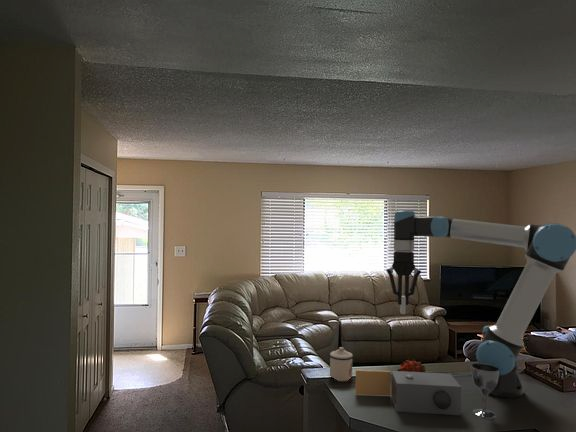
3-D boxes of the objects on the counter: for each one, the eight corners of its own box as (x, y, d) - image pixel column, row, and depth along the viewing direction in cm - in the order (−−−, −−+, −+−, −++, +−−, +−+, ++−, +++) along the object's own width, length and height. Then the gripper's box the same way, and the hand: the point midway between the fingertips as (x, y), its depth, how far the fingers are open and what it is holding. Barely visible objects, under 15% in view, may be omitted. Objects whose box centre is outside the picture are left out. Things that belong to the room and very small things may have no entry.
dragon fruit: (428, 385, 168) (398, 390, 167) (419, 366, 175) (391, 371, 174) (432, 371, 163) (401, 377, 162) (422, 353, 170) (393, 358, 169)
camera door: (389, 393, 153) (389, 370, 154) (390, 395, 152) (390, 371, 152) (355, 392, 154) (355, 369, 154) (355, 394, 153) (356, 370, 153)
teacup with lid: (354, 382, 165) (355, 351, 166) (330, 381, 165) (331, 350, 165) (349, 371, 177) (350, 342, 178) (327, 370, 177) (327, 342, 177)
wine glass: (496, 411, 142) (497, 364, 142) (499, 421, 134) (500, 372, 135) (470, 407, 145) (470, 361, 145) (472, 417, 137) (472, 369, 137)
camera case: (450, 399, 150) (450, 372, 150) (462, 417, 137) (462, 386, 137) (390, 396, 152) (391, 369, 152) (397, 413, 138) (397, 383, 139)
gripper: (419, 251, 169) (418, 312, 169) (385, 250, 170) (384, 310, 170) (423, 252, 162) (422, 316, 161) (387, 251, 163) (386, 314, 163)
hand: (402, 313), depth 166 cm, fingers closed
